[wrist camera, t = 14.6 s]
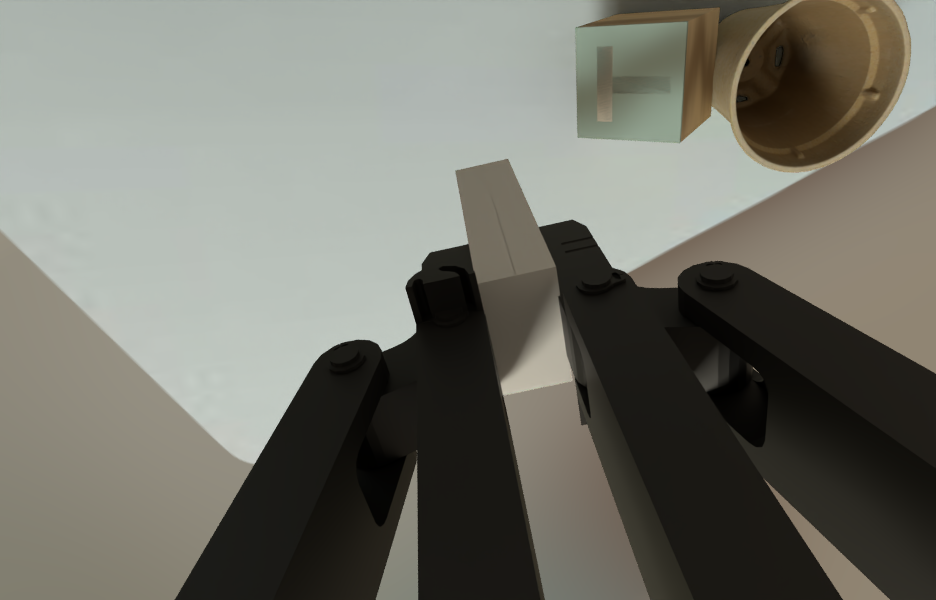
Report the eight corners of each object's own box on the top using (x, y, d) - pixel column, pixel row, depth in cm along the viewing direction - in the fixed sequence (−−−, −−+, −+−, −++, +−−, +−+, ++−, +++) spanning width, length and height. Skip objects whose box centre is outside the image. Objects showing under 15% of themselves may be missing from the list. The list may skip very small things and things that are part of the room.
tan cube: (687, 21, 29) (719, 7, 33) (575, 27, 32) (617, 14, 37) (679, 143, 32) (710, 116, 36) (577, 137, 35) (616, 113, 39)
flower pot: (831, 87, 40) (927, 113, 32) (699, 161, 41) (761, 203, 34) (792, -54, 35) (892, -61, 28) (648, 36, 37) (705, 52, 30)
